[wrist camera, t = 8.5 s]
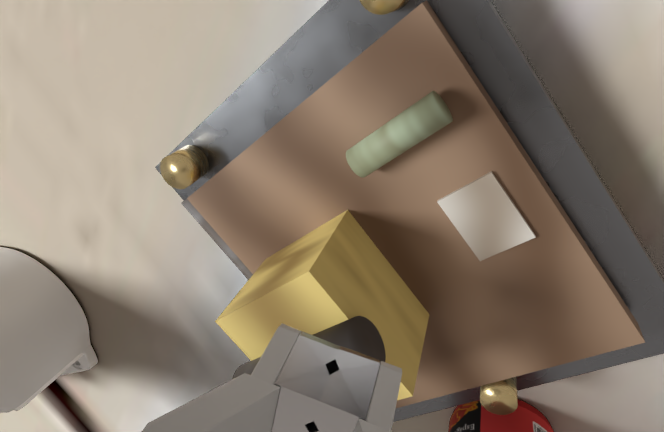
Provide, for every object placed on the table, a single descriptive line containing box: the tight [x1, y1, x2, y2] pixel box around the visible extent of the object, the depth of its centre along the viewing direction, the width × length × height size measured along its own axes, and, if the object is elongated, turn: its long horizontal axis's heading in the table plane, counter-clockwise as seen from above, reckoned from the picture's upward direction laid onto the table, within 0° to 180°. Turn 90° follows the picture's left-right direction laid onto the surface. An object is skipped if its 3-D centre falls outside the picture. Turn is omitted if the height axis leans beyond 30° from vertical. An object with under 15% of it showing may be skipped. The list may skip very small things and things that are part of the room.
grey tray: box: [155, 0, 664, 422], centre depth 27 cm, size 22×26×5 cm
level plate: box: [182, 1, 645, 408], centre depth 23 cm, size 19×20×10 cm
